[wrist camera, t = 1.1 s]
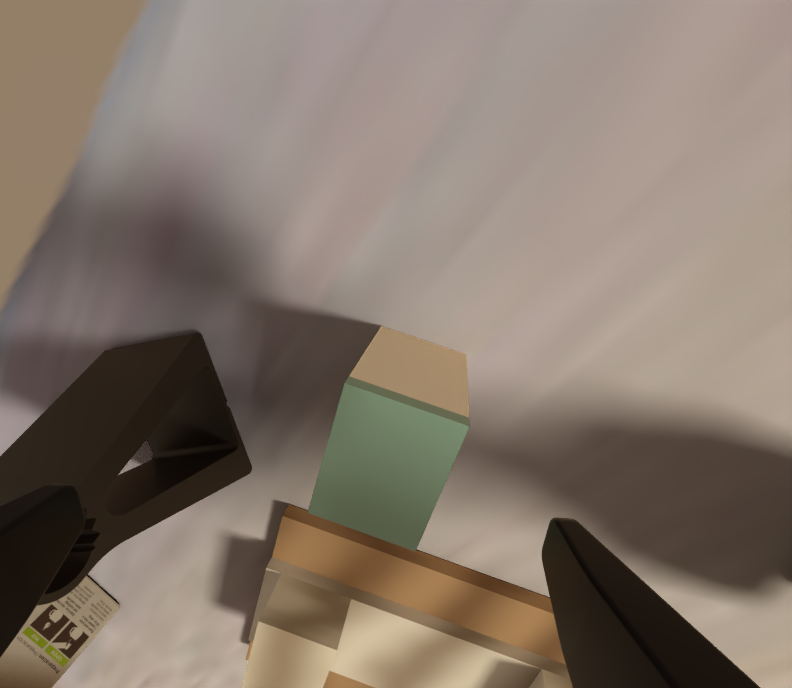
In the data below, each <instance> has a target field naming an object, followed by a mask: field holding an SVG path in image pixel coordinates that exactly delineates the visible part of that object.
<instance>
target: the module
mask: <svg viewBox="0 0 792 688" xmlns="http://www.w3.org/2000/svg"><path fill="white" fill-rule="evenodd" d="M469 427H470V424H469V402H468V380H467V358H466V354H463V353H460V352H457V351H454V350H451V349H448V348H445V347H442V346H440V345H437V344H434V343H431V342H428V341H425V340H422V339H419V338H416V337H413V336H410V335H407V334H404V333H401V332H398V331H395V330H392V329H389V328H386V327H384V326H381V327H380V329H379V330H378V332H377V333H376V335H375V337H374V338H373V340H372V341H371V343H370V344H369V346H368V347H367V349H366V351H365V352H364V354H363V355H362V357H361V358H360V360H359V361H358V363H357V364H356V366H355V368H354V369H353V371H352V372H351V374H350V375H349V377H348V378H347V380H346V382H345V383H344V387H343V390H342V394H341V397H340V401H339V404H338V408H337V411H336V415H335V418H334V422H333V425H332V429H331V432H330V436H329V439H328V443H327V446H326V450H325V453H324V457H323V460H322V464H321V467H320V471H319V474H318V478H317V481H316V485H315V488H314V492H313V495H312V499H311V502H310V506H309V509H308V513H310V514H312V515H315V516H318V517H321V518H323V519H326V520H329V521H332V522H335V523H337V524H340V525H343V526H346V527H348V528H351V529H354V530H357V531H360V532H362V533H365V534H368V535H371V536H373V537H376V538H379V539H382V540H385V541H387V542H390V543H393V544H396V545H398V546H401V547H404V548H407V549H409V550H412V551H416V549H417V547H418V544H419V542H420V540H421V537H422V535H423V533H424V531H425V528H426V526H427V524H428V521H429V519H430V517H431V514H432V512H433V510H434V507H435V505H436V503H437V501H438V498H439V496H440V494H441V491H442V489H443V487H444V484H445V482H446V480H447V477H448V475H449V473H450V471H451V468H452V466H453V464H454V461H455V459H456V457H457V454H458V452H459V450H460V447H461V445H462V443H463V441H464V438H465V436H466V434H467V431H468V429H469Z"/></svg>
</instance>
